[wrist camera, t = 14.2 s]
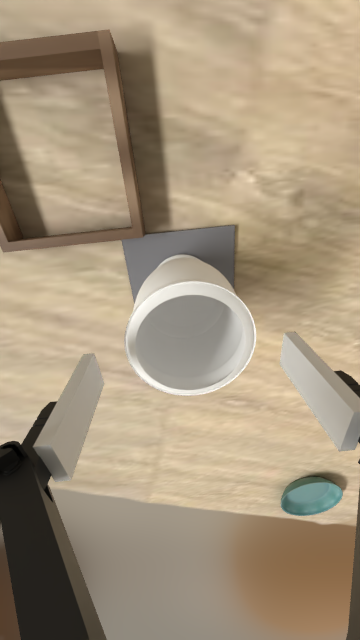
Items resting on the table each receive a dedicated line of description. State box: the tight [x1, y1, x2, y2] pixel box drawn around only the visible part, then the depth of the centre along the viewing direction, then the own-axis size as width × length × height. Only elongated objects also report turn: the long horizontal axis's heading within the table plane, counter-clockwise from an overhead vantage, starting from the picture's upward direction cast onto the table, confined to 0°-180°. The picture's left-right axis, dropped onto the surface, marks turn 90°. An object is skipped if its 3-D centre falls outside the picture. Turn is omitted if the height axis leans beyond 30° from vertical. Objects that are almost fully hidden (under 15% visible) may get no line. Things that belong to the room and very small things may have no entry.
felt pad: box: [122, 225, 235, 304], centre depth 31 cm, size 14×14×1 cm
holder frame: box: [0, 30, 146, 252], centre depth 23 cm, size 16×16×3 cm
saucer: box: [281, 477, 343, 516], centre depth 56 cm, size 15×15×3 cm
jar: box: [124, 254, 256, 396], centre depth 24 cm, size 11×10×15 cm
